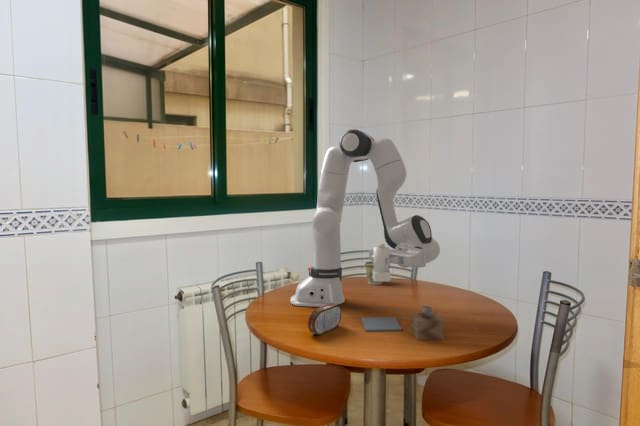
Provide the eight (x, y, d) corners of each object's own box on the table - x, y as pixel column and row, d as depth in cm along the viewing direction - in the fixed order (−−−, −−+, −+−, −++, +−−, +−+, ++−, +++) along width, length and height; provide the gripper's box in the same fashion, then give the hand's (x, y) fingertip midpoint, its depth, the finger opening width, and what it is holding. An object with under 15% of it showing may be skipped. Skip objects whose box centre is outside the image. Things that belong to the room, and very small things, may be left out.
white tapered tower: (375, 281, 136) (374, 245, 135) (372, 278, 141) (372, 243, 140) (390, 281, 136) (390, 245, 135) (387, 277, 141) (387, 242, 140)
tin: (335, 324, 141) (335, 300, 140) (343, 326, 139) (343, 301, 138) (307, 336, 129) (307, 310, 129) (314, 339, 127) (314, 312, 127)
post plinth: (417, 339, 126) (417, 311, 125) (411, 330, 134) (411, 303, 133) (443, 339, 126) (443, 311, 125) (435, 330, 134) (435, 303, 133)
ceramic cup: (369, 286, 193) (369, 265, 192) (361, 281, 203) (361, 261, 202) (394, 284, 197) (394, 263, 196) (385, 279, 206) (385, 260, 206)
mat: (365, 331, 133) (365, 329, 133) (361, 319, 145) (361, 317, 145) (402, 330, 134) (402, 329, 134) (394, 318, 146) (394, 317, 146)
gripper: (384, 243, 154) (358, 247, 145) (429, 249, 138) (402, 254, 129) (384, 259, 154) (358, 264, 146) (429, 267, 138) (402, 273, 130)
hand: (379, 259), depth 138 cm, fingers closed on white tapered tower, 5 cm apart
